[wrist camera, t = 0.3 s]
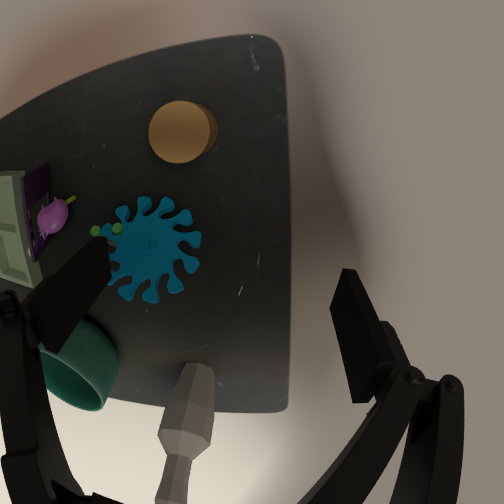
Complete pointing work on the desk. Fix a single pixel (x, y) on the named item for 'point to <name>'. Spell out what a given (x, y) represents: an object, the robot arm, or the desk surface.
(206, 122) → the cylinder
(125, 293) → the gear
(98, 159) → the desk surface
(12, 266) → the divided tray
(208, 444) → the low poly bottle
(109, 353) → the mug
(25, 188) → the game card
